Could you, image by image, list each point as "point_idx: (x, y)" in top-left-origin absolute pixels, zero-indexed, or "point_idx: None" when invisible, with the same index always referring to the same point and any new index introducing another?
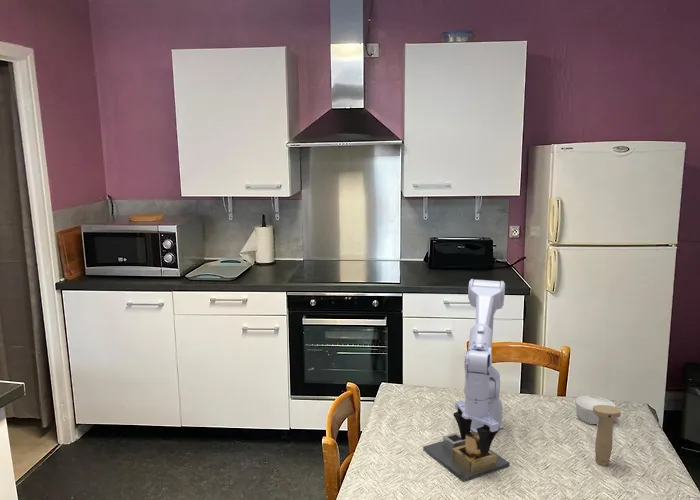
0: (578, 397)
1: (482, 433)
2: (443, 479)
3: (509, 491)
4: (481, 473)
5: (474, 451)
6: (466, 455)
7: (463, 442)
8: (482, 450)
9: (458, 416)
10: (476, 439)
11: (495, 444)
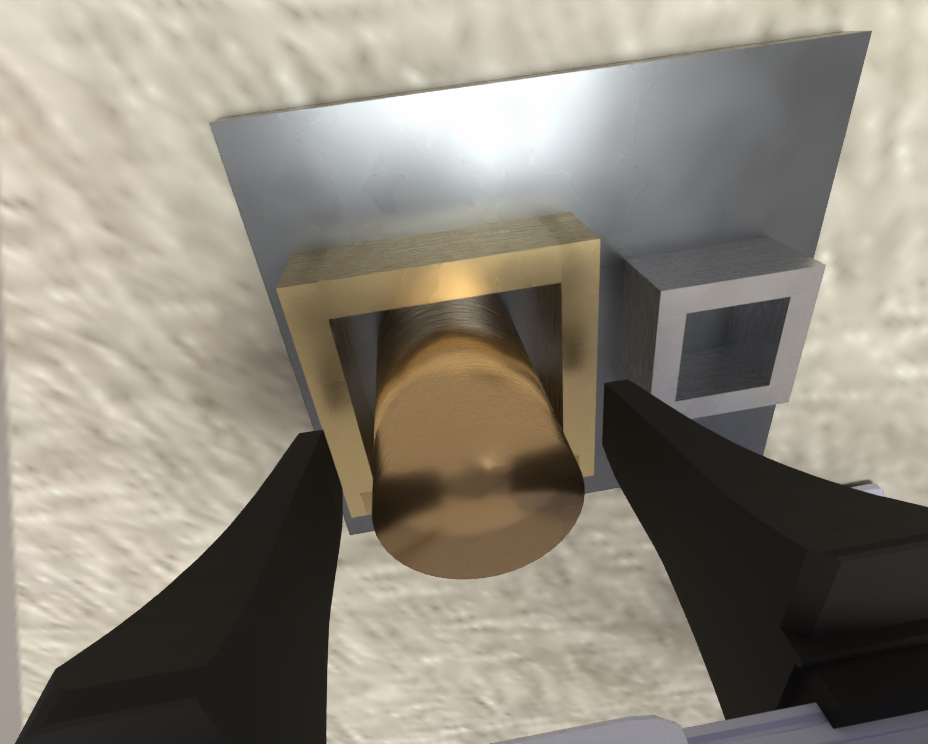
0: None
1: (44, 697)
2: None
3: (49, 397)
4: (280, 323)
5: (384, 389)
6: (452, 312)
7: (644, 386)
8: (282, 457)
9: (828, 576)
10: (397, 497)
11: (589, 542)
